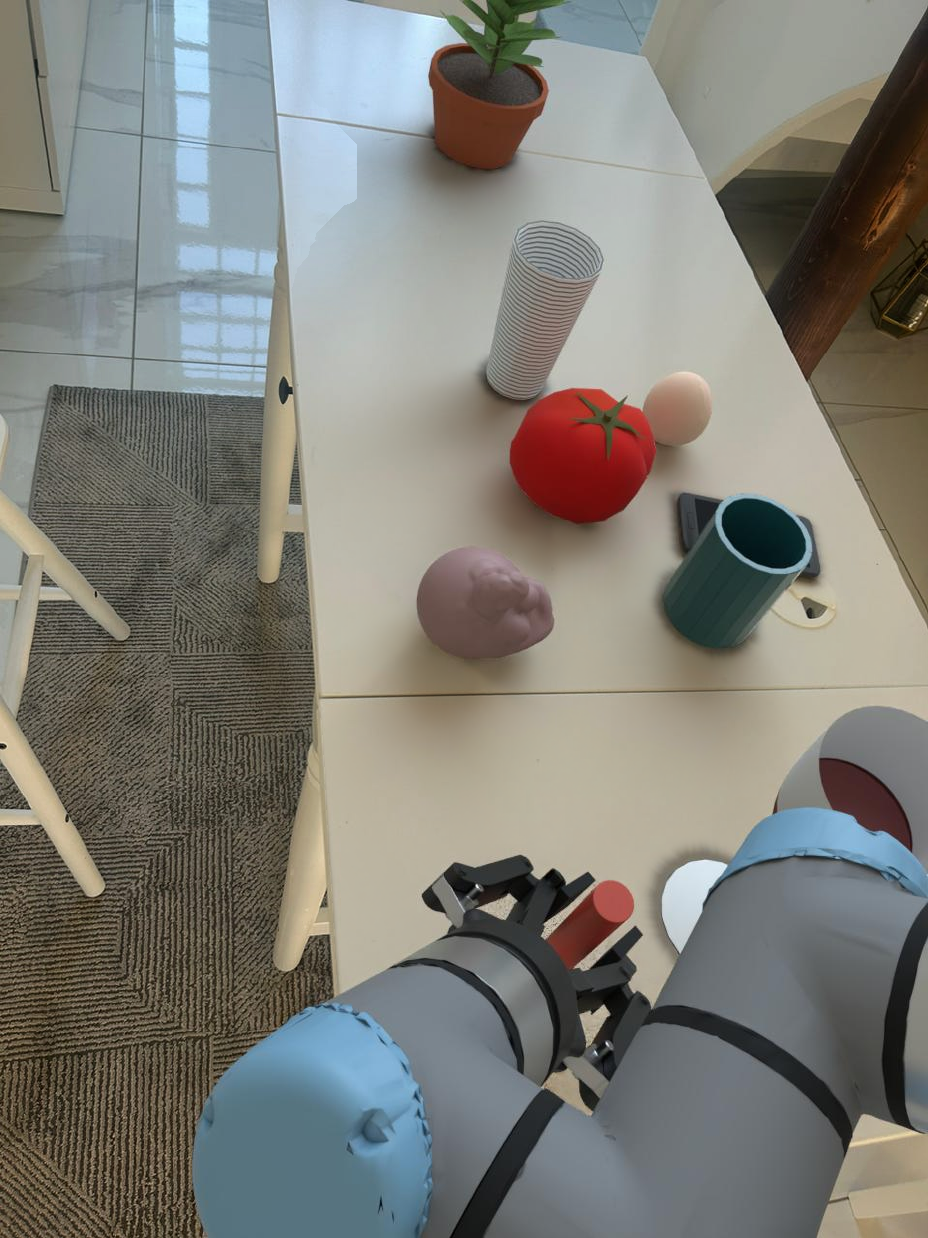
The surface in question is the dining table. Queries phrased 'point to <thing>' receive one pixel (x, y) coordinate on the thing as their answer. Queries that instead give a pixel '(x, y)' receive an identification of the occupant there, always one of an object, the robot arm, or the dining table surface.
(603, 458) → the tomato
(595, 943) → the red round dowel
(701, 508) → the cell phone
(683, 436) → the egg
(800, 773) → the wineglass
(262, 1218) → the robot arm
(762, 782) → the dining table surface
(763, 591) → the teal pencil holder
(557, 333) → the cup
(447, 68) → the potted plant
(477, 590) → the figurine
